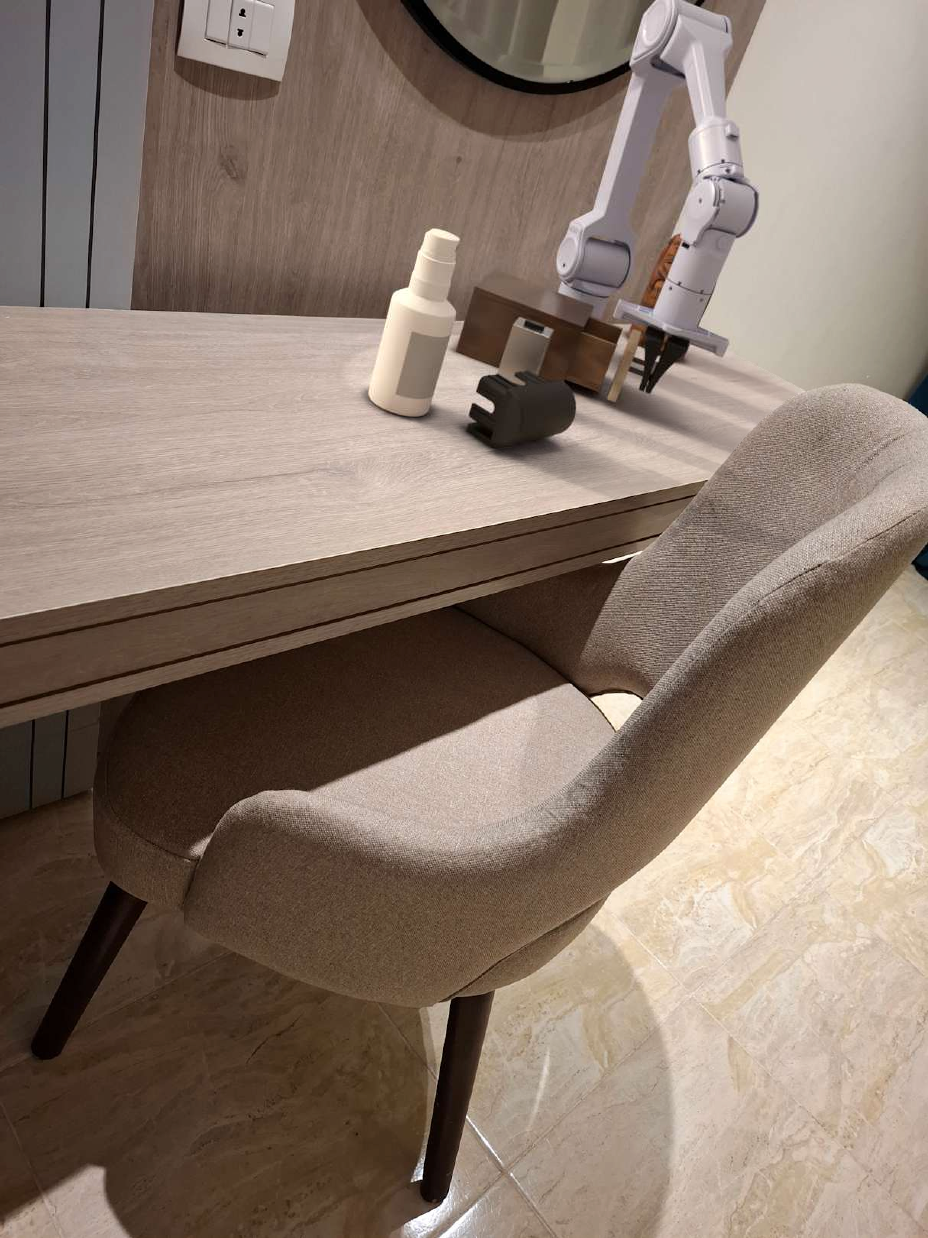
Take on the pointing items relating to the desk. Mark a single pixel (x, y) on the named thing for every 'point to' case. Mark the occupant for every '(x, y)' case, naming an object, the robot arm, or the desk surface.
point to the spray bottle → (417, 331)
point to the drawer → (603, 357)
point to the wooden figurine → (660, 286)
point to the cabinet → (513, 298)
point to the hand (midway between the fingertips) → (644, 389)
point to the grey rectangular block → (525, 349)
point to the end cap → (521, 409)
